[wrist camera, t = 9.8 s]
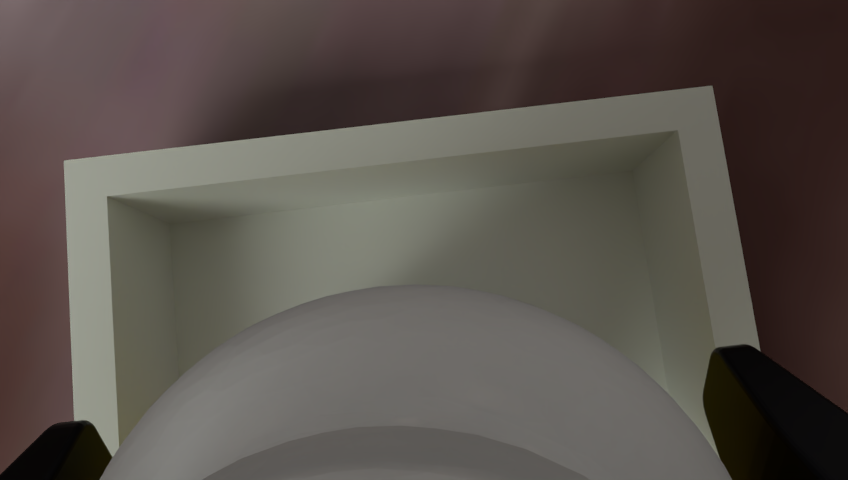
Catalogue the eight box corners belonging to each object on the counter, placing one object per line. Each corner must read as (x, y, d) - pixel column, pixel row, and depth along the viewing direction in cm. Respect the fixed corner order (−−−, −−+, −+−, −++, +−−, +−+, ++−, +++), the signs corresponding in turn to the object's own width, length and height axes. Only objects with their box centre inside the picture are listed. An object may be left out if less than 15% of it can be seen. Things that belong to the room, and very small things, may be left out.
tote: (740, 688, 16) (842, 804, 12) (179, 751, 16) (93, 888, 12) (650, 143, 18) (712, 85, 14) (148, 201, 18) (63, 160, 14)
